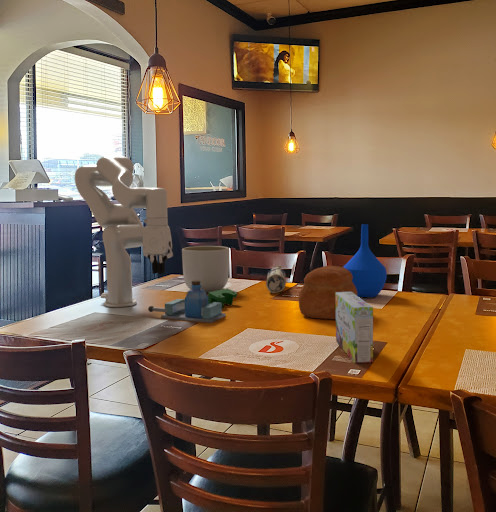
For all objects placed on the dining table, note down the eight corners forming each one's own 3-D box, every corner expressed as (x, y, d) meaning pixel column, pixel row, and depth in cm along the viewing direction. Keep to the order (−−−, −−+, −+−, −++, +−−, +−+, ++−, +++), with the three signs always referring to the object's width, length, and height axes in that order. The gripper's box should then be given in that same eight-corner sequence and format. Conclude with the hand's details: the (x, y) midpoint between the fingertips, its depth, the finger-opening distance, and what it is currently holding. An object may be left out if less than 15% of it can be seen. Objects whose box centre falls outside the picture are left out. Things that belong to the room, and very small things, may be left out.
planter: (228, 294, 241) (227, 250, 238) (180, 295, 241) (179, 251, 239) (230, 286, 261) (230, 245, 259) (186, 286, 262) (185, 246, 259)
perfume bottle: (192, 312, 203) (192, 279, 201) (208, 313, 201) (207, 280, 199) (185, 315, 197) (184, 282, 196) (201, 317, 195) (200, 283, 193)
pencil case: (267, 285, 262) (267, 265, 261) (285, 285, 262) (285, 265, 260) (265, 294, 240) (265, 272, 239) (285, 294, 240) (285, 272, 239)
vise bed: (161, 318, 198) (160, 304, 198) (177, 311, 208) (176, 298, 208) (211, 322, 190) (211, 308, 190) (225, 316, 200) (225, 302, 200)
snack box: (333, 341, 166) (334, 291, 164) (352, 341, 166) (353, 291, 165) (353, 364, 145) (354, 306, 143) (374, 363, 146) (375, 306, 144)
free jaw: (147, 313, 201) (146, 302, 201) (161, 308, 210) (161, 297, 209) (172, 315, 197) (172, 304, 196) (186, 310, 206) (185, 299, 205)
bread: (295, 317, 198) (295, 270, 196) (315, 305, 217) (315, 262, 215) (343, 322, 190) (343, 273, 188) (360, 309, 209) (360, 264, 207)
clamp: (219, 318, 215) (216, 300, 210) (208, 313, 219) (205, 294, 214) (239, 302, 222) (237, 284, 217) (228, 297, 226) (226, 279, 221)
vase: (392, 294, 238) (393, 223, 234) (377, 301, 222) (378, 226, 219) (351, 290, 248) (352, 222, 244) (334, 297, 232) (335, 225, 229)
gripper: (132, 222, 201) (134, 273, 203) (170, 223, 194) (172, 276, 197) (144, 221, 207) (146, 270, 210) (181, 222, 201) (182, 273, 203)
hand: (158, 273), depth 203 cm, fingers closed
